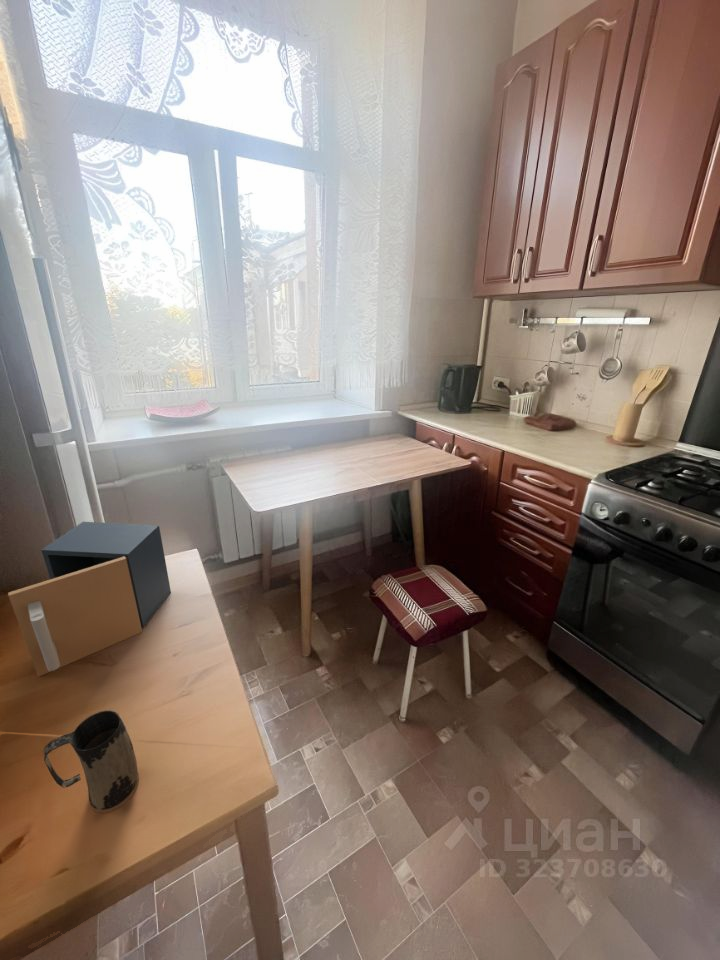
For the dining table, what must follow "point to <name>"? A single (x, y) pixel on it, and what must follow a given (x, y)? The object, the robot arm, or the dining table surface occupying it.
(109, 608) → the cupboard door
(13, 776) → the dining table surface
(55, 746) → the mug
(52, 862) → the dining table surface
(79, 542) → the cupboard
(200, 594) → the dining table surface
